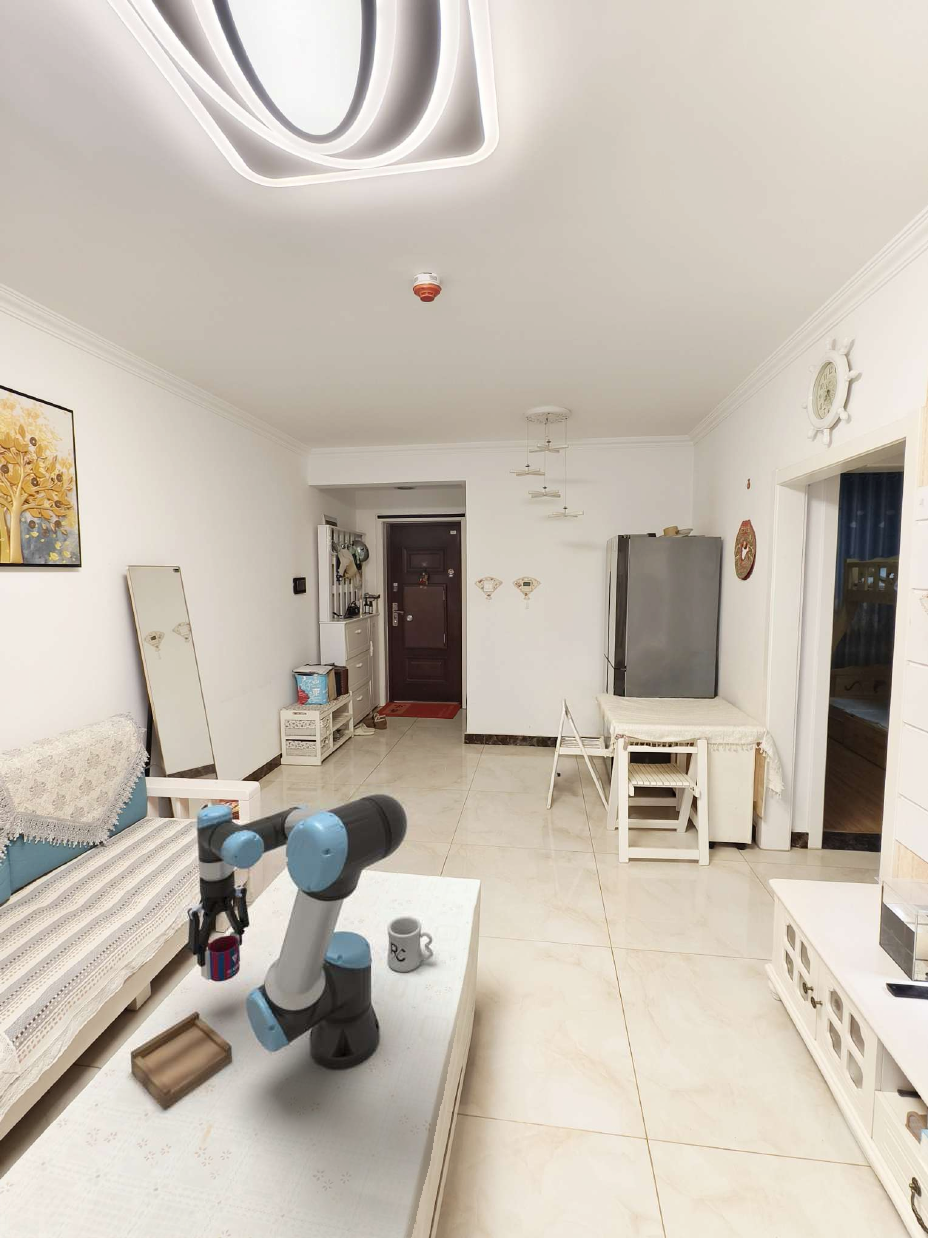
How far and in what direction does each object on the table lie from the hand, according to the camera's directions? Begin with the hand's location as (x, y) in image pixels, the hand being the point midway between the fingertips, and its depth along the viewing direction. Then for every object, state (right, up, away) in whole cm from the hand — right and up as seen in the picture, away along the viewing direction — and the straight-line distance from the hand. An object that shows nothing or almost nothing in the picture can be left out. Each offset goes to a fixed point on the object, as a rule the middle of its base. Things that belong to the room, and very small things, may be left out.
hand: (221, 968), depth 137 cm
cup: (0, -1, 0) cm, 1 cm away
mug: (+43, -9, +17) cm, 47 cm away
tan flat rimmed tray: (-2, -11, -15) cm, 19 cm away
